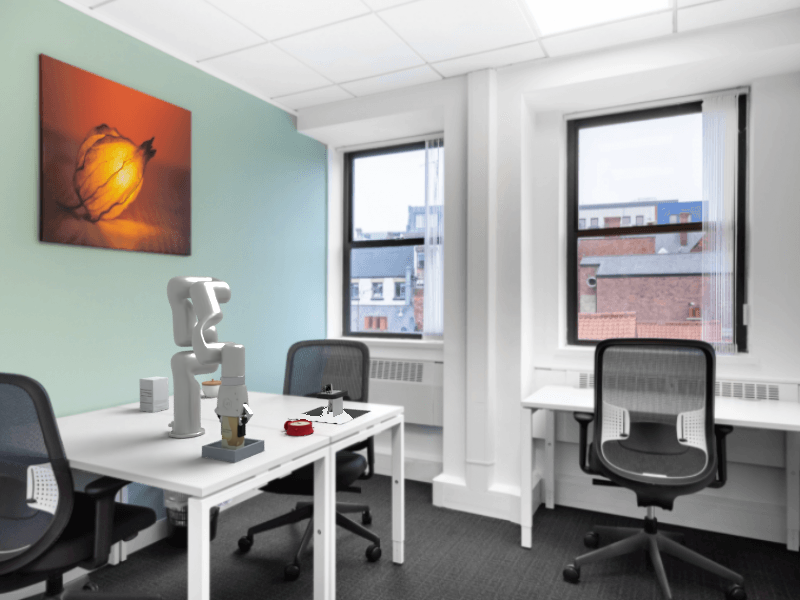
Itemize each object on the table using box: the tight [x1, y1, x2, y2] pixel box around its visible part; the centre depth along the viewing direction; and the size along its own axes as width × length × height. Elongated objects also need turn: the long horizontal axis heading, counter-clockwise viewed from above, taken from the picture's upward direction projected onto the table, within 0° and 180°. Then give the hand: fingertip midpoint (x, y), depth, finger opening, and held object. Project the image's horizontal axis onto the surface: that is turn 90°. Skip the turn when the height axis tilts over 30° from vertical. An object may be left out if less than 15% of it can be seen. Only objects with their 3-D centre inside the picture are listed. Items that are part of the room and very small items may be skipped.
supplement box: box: [139, 375, 170, 413], centre depth 243 cm, size 9×9×15 cm
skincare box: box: [221, 413, 245, 450], centre depth 175 cm, size 6×4×12 cm
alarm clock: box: [283, 419, 315, 437], centre depth 203 cm, size 10×6×15 cm
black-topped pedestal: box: [301, 382, 371, 420], centre depth 232 cm, size 28×26×13 cm
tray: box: [201, 437, 265, 463], centre depth 175 cm, size 14×14×4 cm
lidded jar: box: [201, 378, 221, 399], centre depth 276 cm, size 11×11×9 cm
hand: (233, 434), depth 175 cm, fingers closed on skincare box, 6 cm apart
